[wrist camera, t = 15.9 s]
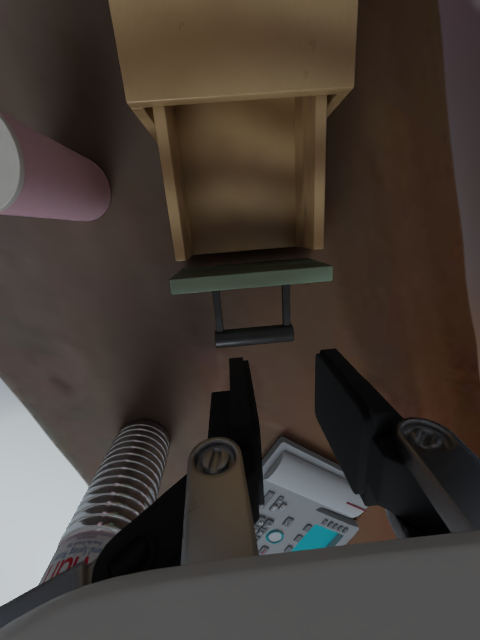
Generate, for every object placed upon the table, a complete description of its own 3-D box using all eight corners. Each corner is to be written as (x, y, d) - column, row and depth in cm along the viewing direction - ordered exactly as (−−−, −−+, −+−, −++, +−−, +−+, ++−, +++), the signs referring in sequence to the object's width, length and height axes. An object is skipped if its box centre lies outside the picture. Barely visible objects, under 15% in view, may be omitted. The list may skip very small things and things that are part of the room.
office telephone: (283, 448, 33) (400, 502, 37) (279, 433, 35) (389, 486, 39) (194, 562, 38) (305, 599, 42) (196, 542, 41) (300, 578, 45)
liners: (32, 179, 24) (-138, 133, 13) (80, 138, 24) (-56, 49, 12) (80, 235, 26) (-33, 238, 15) (126, 199, 25) (45, 171, 14)
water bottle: (178, 425, 34) (69, 874, 10) (163, 464, 36) (41, 921, 12) (125, 410, 33) (-137, 876, 9) (112, 452, 35) (-132, 928, 11)
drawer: (307, 320, 29) (330, 344, 23) (191, 330, 29) (181, 358, 23) (308, 87, 23) (341, 29, 16) (157, 98, 22) (129, 43, 16)
